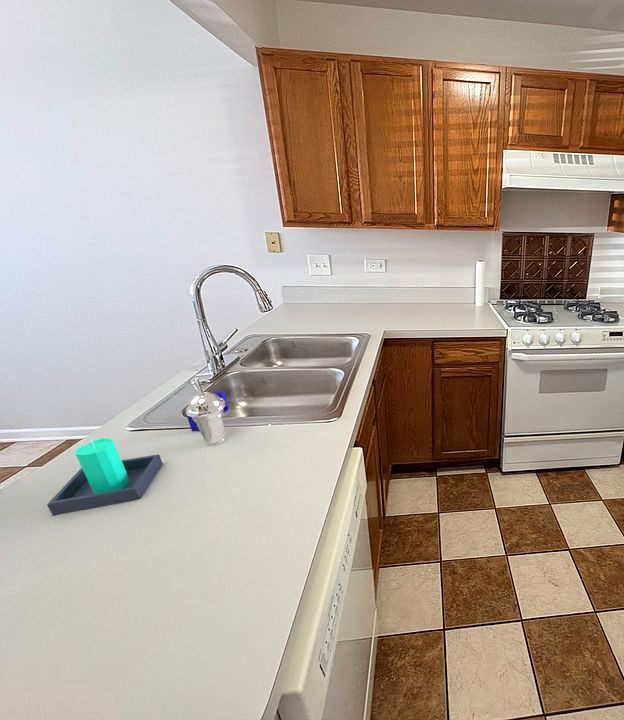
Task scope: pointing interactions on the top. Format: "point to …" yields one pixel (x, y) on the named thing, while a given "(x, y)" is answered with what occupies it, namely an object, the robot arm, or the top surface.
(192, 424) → the cable clip
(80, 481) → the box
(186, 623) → the top surface
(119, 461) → the candle
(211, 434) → the cup with straw
